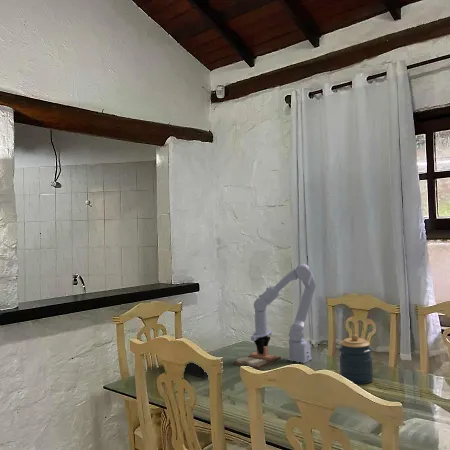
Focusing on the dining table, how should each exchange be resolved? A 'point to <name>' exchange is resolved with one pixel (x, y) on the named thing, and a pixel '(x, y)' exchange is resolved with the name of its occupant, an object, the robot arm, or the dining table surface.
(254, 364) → the ticket board
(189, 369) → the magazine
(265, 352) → the stub
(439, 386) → the dining table surface
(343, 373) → the canister
